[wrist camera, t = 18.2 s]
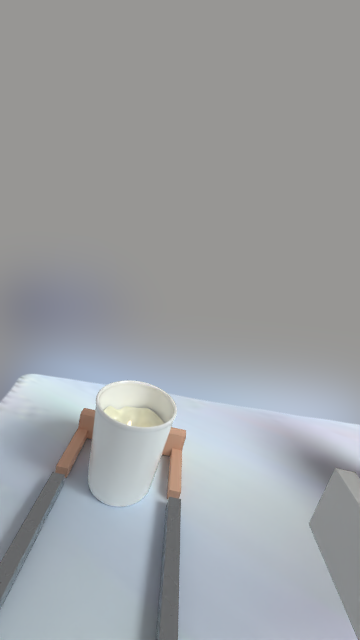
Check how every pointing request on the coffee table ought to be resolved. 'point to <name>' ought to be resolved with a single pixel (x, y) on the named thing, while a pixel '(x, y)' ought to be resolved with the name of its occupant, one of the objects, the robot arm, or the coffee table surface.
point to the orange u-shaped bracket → (170, 449)
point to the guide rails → (167, 626)
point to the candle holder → (128, 440)
